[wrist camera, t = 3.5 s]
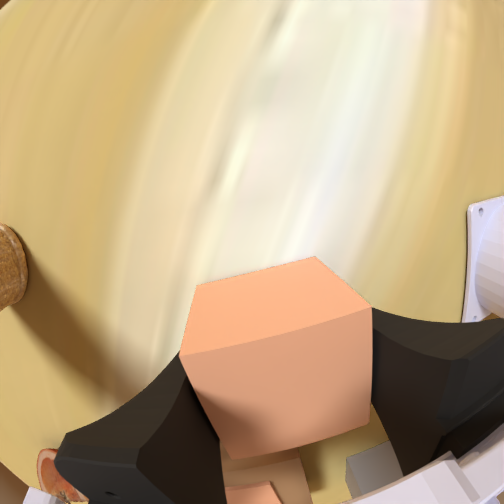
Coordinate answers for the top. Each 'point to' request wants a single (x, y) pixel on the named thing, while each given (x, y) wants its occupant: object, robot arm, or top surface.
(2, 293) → the sprinkles bottle
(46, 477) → the fruit slice
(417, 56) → the top surface
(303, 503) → the walnut plinth
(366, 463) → the slate cube
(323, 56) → the top surface
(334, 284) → the terracotta cube
